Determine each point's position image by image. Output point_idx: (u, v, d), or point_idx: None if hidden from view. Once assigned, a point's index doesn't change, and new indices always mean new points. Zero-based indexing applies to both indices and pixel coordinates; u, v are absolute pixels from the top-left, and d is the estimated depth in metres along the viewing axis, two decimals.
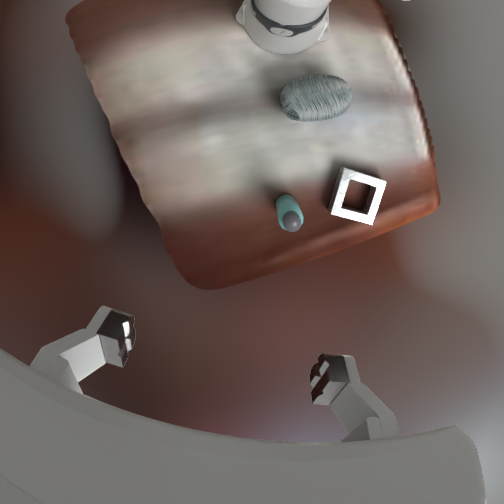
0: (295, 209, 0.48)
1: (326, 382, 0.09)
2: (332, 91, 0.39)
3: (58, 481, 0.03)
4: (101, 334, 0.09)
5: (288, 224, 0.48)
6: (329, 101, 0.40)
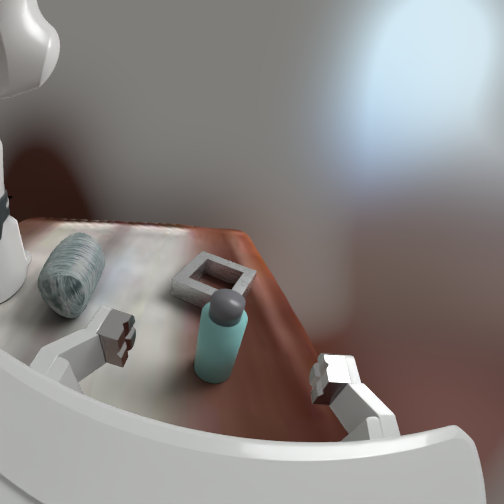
0: (207, 305, 0.27)
1: (326, 382, 0.09)
2: (72, 238, 0.32)
3: (59, 481, 0.03)
4: (101, 334, 0.09)
5: (229, 304, 0.24)
6: (79, 243, 0.32)
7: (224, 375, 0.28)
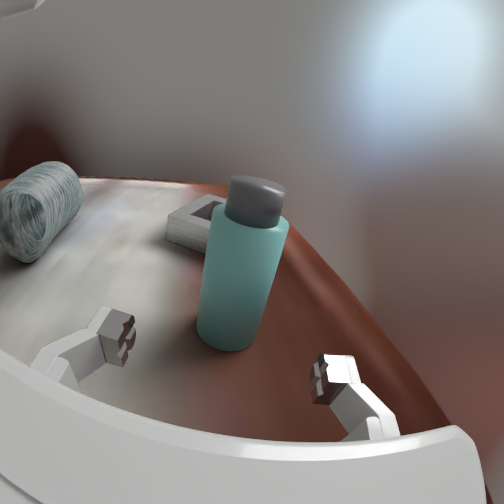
0: (222, 205, 0.16)
1: (326, 382, 0.09)
2: (44, 163, 0.22)
3: (58, 481, 0.03)
4: (101, 334, 0.09)
5: (261, 187, 0.14)
6: (51, 165, 0.21)
7: (247, 334, 0.18)
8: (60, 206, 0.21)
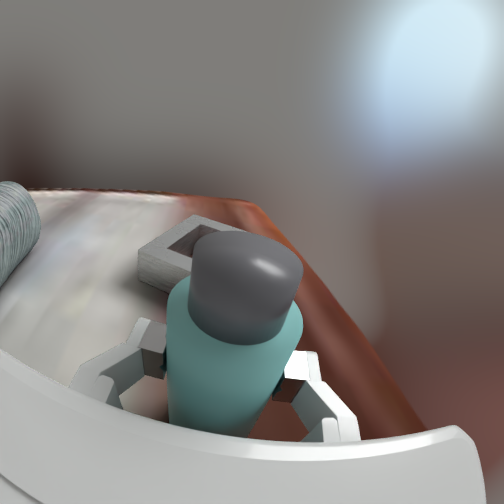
0: (186, 282, 0.09)
1: (283, 378, 0.09)
2: None
3: (58, 481, 0.03)
4: (143, 348, 0.09)
5: (254, 269, 0.07)
6: None
7: None
8: (4, 245, 0.14)
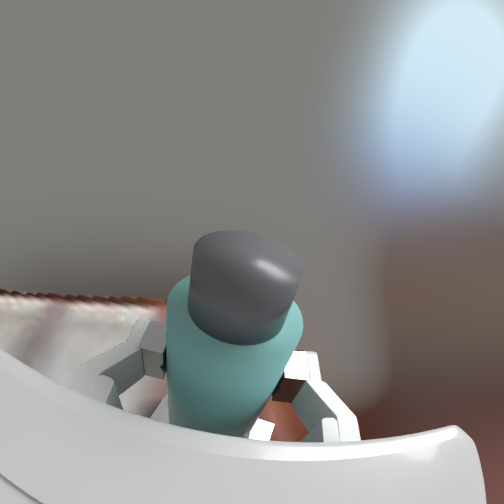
0: (186, 282, 0.09)
1: (283, 378, 0.09)
2: None
3: (58, 481, 0.03)
4: (143, 348, 0.09)
5: (254, 269, 0.07)
6: None
7: None
8: None
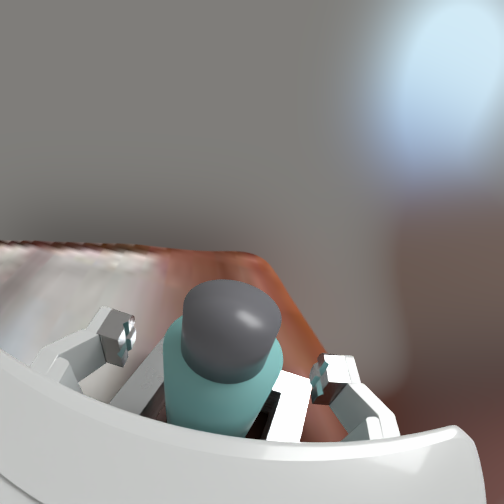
0: (180, 323, 0.10)
1: (326, 382, 0.09)
2: None
3: (58, 481, 0.03)
4: (101, 334, 0.09)
5: (236, 325, 0.08)
6: None
7: None
8: None
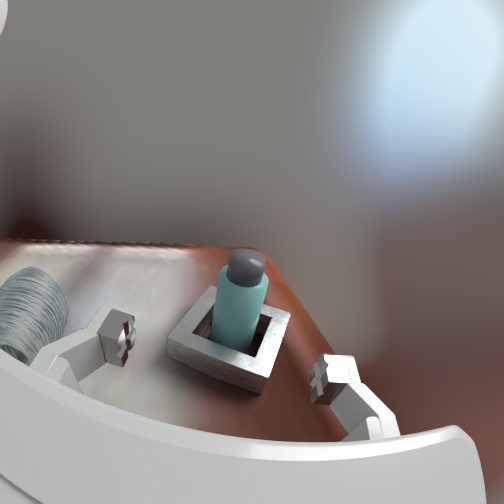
0: (224, 268, 0.25)
1: (326, 382, 0.09)
2: (16, 278, 0.18)
3: (58, 481, 0.03)
4: (101, 334, 0.09)
5: (249, 261, 0.23)
6: (24, 286, 0.17)
7: (243, 349, 0.27)
8: (44, 345, 0.17)
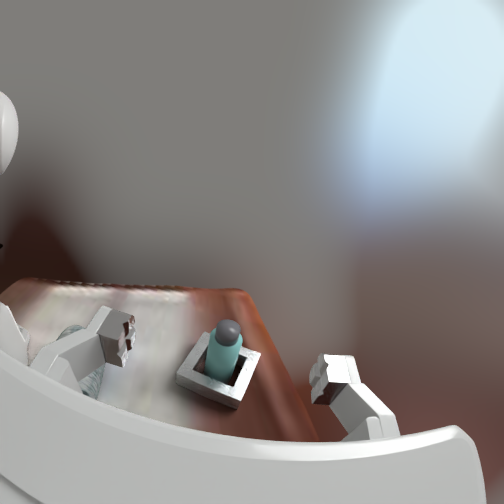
0: (213, 331, 0.37)
1: (326, 382, 0.09)
2: None
3: (58, 481, 0.03)
4: (101, 334, 0.09)
5: (229, 331, 0.35)
6: None
7: (226, 379, 0.38)
8: (97, 383, 0.28)
